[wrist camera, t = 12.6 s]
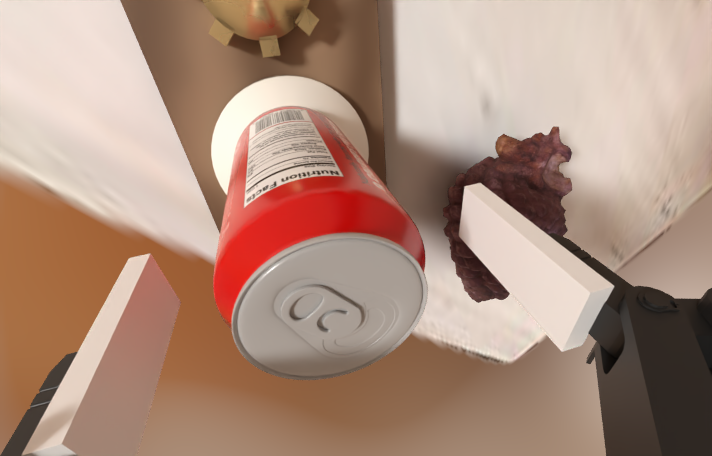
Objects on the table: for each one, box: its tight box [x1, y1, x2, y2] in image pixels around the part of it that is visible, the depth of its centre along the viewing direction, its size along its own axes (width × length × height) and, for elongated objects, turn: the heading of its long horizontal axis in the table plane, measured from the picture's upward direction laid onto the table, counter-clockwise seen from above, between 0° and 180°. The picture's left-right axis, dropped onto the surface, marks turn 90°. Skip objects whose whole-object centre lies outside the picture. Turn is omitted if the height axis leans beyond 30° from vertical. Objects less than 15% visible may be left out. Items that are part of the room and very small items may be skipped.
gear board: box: [120, 0, 386, 233], centre depth 21 cm, size 14×22×2 cm, turn 7°
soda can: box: [213, 106, 428, 380], centre depth 16 cm, size 8×8×15 cm
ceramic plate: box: [211, 75, 369, 195], centre depth 23 cm, size 11×11×1 cm
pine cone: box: [443, 127, 572, 303], centre depth 28 cm, size 18×10×10 cm, turn 177°
